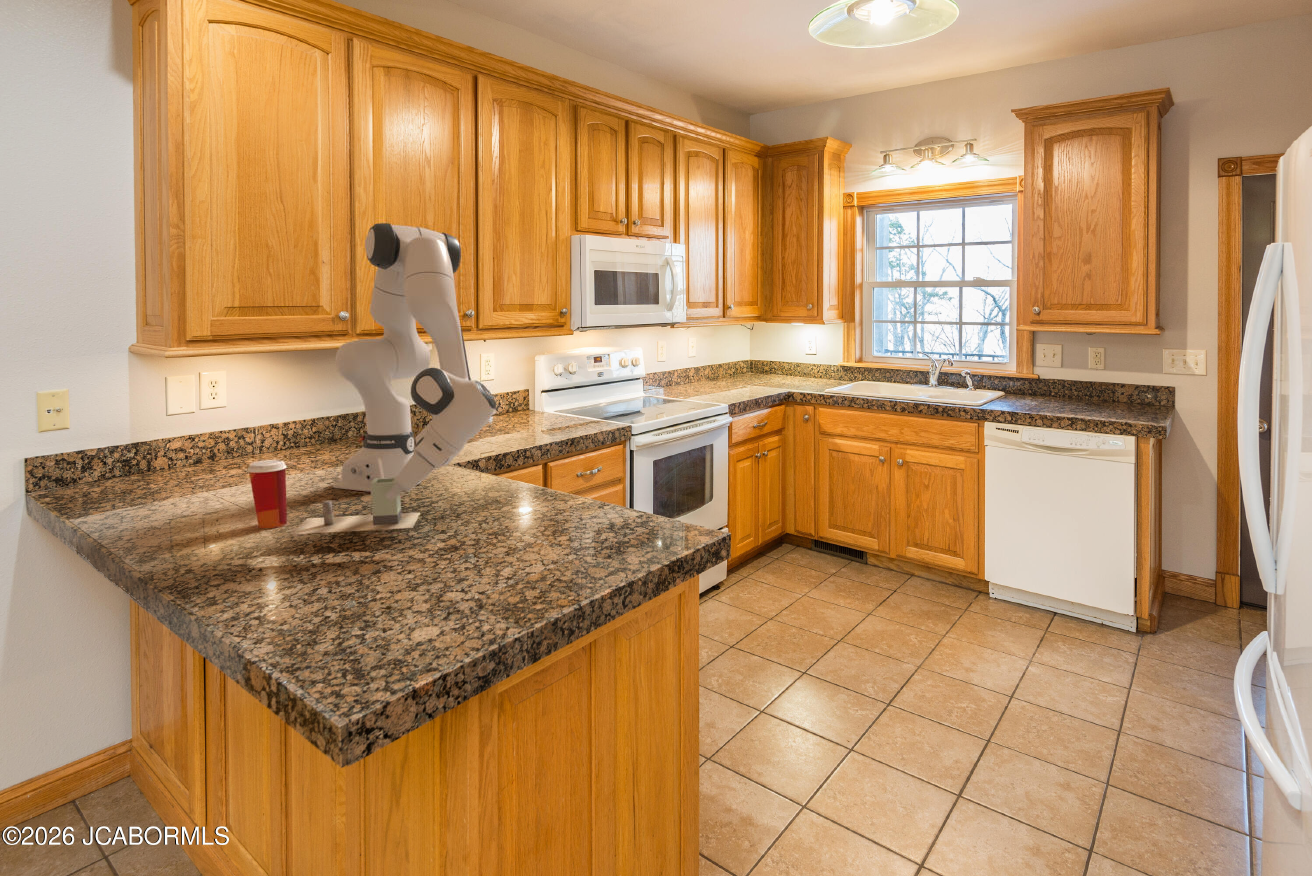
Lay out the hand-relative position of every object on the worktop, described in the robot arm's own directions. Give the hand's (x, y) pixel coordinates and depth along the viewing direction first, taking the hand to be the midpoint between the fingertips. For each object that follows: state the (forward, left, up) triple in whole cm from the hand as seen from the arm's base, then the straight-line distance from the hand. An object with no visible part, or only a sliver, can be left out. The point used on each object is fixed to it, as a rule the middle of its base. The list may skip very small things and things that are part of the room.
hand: (392, 492), depth 163 cm
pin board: (-7, -3, -8) cm, 11 cm away
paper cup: (-28, -3, -8) cm, 29 cm away
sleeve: (-1, 0, -6) cm, 6 cm away
